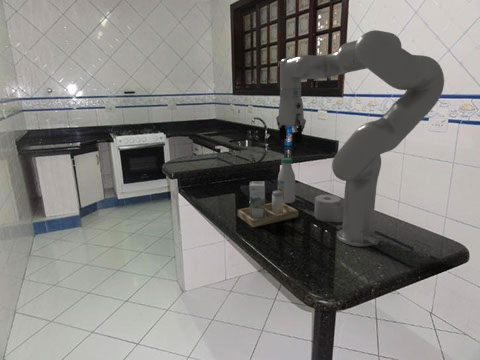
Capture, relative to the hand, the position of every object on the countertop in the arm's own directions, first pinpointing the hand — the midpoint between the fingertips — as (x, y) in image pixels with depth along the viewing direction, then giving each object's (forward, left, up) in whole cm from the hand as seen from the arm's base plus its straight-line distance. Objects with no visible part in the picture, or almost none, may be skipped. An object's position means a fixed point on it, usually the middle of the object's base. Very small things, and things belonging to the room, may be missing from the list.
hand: (289, 141), depth 123 cm
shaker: (+2, +4, -29) cm, 30 cm away
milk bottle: (+14, -8, -30) cm, 34 cm away
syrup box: (+2, +14, -29) cm, 32 cm away
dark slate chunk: (+35, -8, -31) cm, 47 cm away
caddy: (+2, +9, -30) cm, 32 cm away
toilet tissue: (-11, -11, -31) cm, 34 cm away
